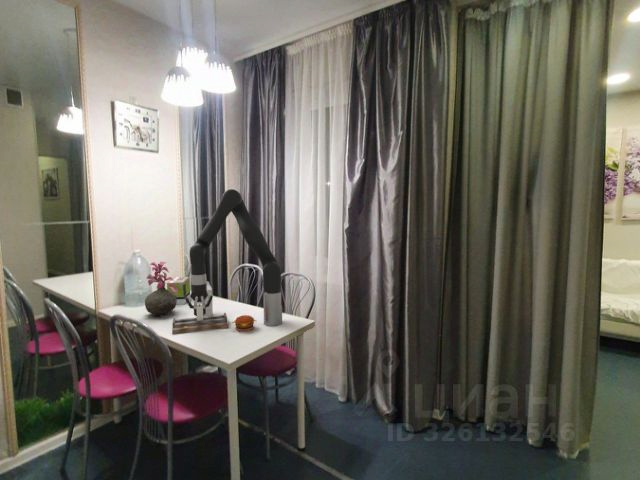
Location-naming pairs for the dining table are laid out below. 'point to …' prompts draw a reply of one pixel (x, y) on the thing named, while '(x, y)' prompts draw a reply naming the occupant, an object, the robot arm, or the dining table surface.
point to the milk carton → (208, 309)
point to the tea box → (180, 288)
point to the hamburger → (244, 323)
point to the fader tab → (199, 312)
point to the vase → (160, 293)
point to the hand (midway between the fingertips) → (199, 315)
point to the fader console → (199, 324)
